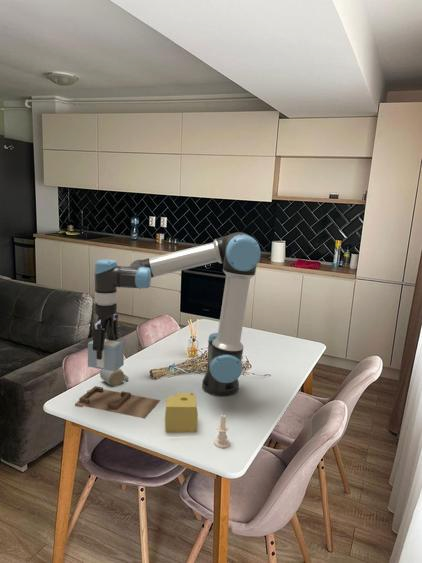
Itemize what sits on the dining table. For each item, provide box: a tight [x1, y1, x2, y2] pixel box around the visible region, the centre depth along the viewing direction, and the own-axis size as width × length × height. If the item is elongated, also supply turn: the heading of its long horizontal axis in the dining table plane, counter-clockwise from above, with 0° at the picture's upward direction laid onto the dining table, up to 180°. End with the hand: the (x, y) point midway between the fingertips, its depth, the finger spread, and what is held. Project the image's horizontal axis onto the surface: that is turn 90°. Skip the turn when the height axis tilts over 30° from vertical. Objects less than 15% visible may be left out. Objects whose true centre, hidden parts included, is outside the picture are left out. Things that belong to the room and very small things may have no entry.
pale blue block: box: [87, 338, 125, 371], centre depth 155 cm, size 11×6×9 cm, turn 73°
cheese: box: [164, 392, 199, 433], centre depth 144 cm, size 10×11×10 cm
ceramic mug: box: [99, 368, 129, 387], centre depth 175 cm, size 11×8×8 cm
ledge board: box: [74, 385, 161, 419], centre depth 158 cm, size 28×14×3 cm, turn 73°
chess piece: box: [213, 413, 231, 449], centre depth 135 cm, size 5×5×10 cm
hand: (105, 363), depth 156 cm, fingers closed on pale blue block, 7 cm apart
